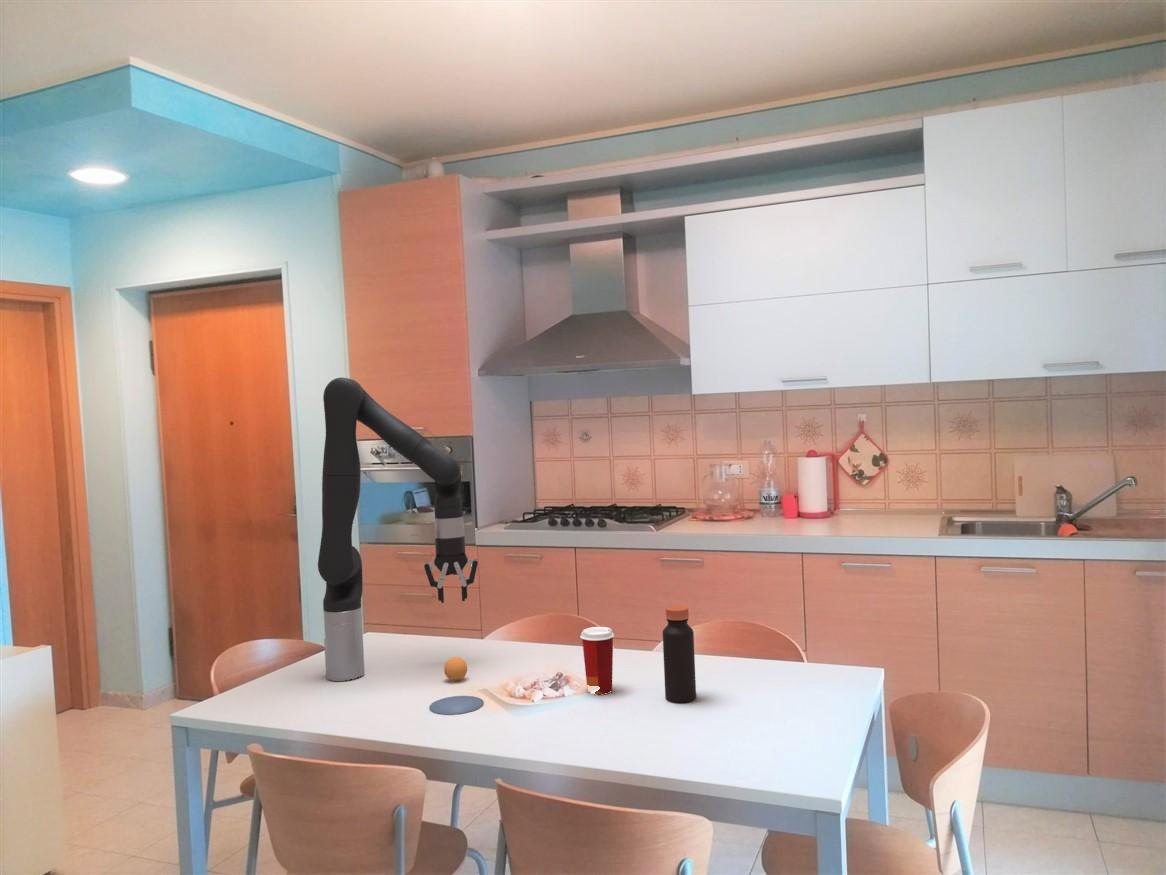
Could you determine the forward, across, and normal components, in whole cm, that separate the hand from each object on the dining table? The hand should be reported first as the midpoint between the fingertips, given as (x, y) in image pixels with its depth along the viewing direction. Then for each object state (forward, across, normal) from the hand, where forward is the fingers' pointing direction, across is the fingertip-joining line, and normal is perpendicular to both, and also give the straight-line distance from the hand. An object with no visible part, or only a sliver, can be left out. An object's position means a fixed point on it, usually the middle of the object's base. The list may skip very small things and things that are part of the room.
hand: (452, 601), depth 219 cm
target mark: (+17, 0, +29) cm, 34 cm away
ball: (+15, 0, +10) cm, 18 cm away
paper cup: (+18, -32, +28) cm, 46 cm away
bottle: (+18, -49, +38) cm, 65 cm away
